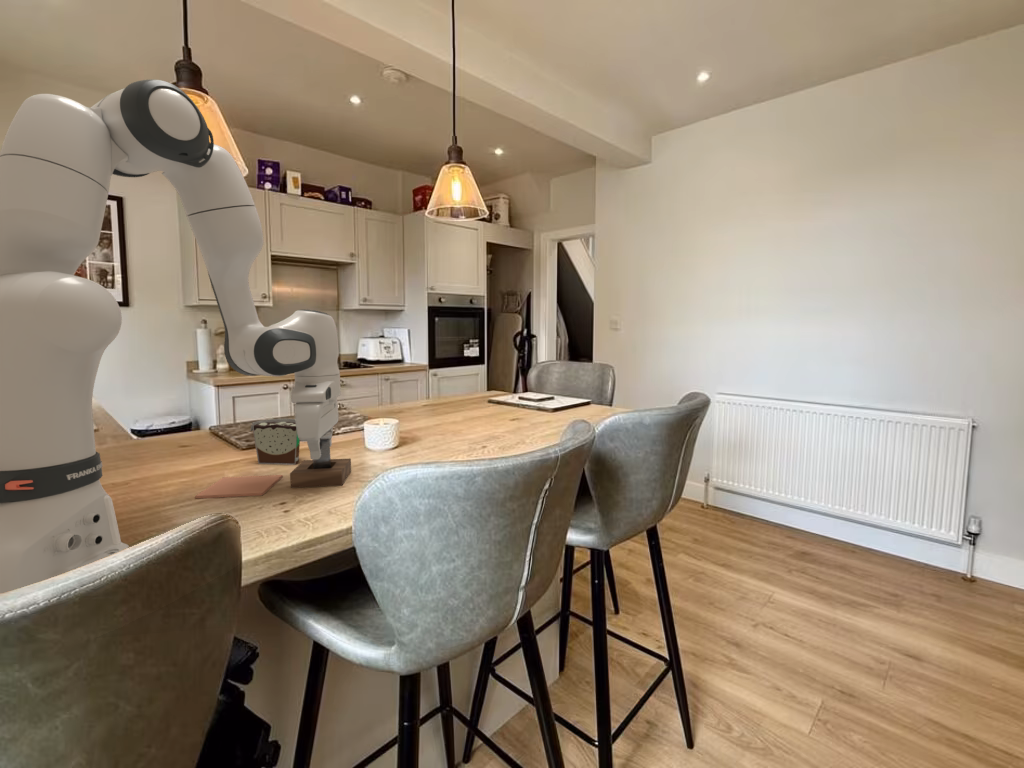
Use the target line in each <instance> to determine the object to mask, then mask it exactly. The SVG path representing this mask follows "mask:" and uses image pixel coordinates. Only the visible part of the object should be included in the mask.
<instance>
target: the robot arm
mask: <svg viewBox="0 0 1024 768" xmlns="http://www.w3.org/2000/svg"><path fill="white" fill-rule="evenodd" d="M156 172H161V175H162V176H164V177H165V178H166V179H167V180H168V181H169V183H171V185H172V186H173V188H174V189H175V190H176V192H177V193H178V196H179V198H180V201H181V205H182V208H183V210H184V213H185V215H186V217H187V221H188V224H189V226H190V228H191V231H192V233H193V236H194V238H195V240H196V245H197V246H198V248H199V251H200V253H201V256H202V259H203V262H204V266H205V267H206V271H207V274H208V277H209V282H210V285H211V288H212V292H213V294H214V298H215V300H216V304H217V307H218V310H219V314H220V316H221V320H222V324H223V327H224V328H223V329H224V342H223V344H224V345H223V347H224V348H223V351H224V357H225V359H226V362H227V363H228V365H229V366H230V367H231V368H232V369H233V370H234V371H235V372H237V373H240V374H242V375H243V376H251V377H255V376H265V377H285V376H287V375H291V374H294V384H293V385H294V386H293V388H292V390H291V392H290V401H291V403H292V404H294V419H295V422H296V429H297V435H298V438H299V440H300V442H302V443H303V442H304V443H305V442H307V447H308V450H309V455H310V456H309V457H310V460H316V459H319V458H320V457H321V449H320V444H319V443H320V438H321V437H322V436H323V435H324V434H325V433H326V432H328V431H329V432H332V433H333V432H334V431H333V430H334V428H333V427H335V425H337V423H338V422H339V405H338V397H340V396H341V395H342V390H341V389H342V387H341V386H342V385H341V372H340V368H339V365H338V360H339V359H338V358H339V355H340V350H339V336H338V329H337V326H336V325H337V324H336V322H335V320H334V318H333V316H332V315H330V314H329V313H327V312H323V311H319V310H315V309H313V310H312V309H298V310H295V311H294V312H293V314H291V315H290V316H288V317H285V319H282V320H281V321H279V322H277V323H272V324H271V325H270V324H269V326H265V325H264V324H263V323H262V322H261V320H260V318H259V316H258V313H257V309H256V305H255V302H254V298H253V295H252V291H251V287H250V284H249V276H250V271H251V268H252V267H253V264H254V262H255V261H256V259H257V257H259V255H260V253H261V251H262V250H263V247H264V243H265V242H264V233H263V227H262V222H261V219H260V215H259V212H258V209H257V207H256V203H255V201H254V198H253V196H252V193H251V190H250V189H249V186H248V184H247V181H246V179H245V178H244V175H243V173H242V171H241V169H240V168H239V166H238V164H237V162H236V160H235V159H234V157H233V155H232V154H231V153H230V152H229V151H228V150H227V149H226V148H224V147H222V146H220V145H218V144H215V143H214V136H213V132H212V131H211V130H210V128H209V127H208V125H207V122H206V120H205V117H204V116H203V114H202V112H201V110H200V109H199V107H198V106H197V105H196V103H195V102H194V101H193V100H192V99H191V97H190V96H188V94H187V93H186V92H184V91H183V90H182V89H181V88H180V87H178V86H176V85H175V84H173V83H170V82H168V81H165V80H161V79H143V80H137V81H133V82H131V83H129V84H128V85H127V86H126V87H124V88H122V89H119V90H117V91H114V92H112V93H109V94H107V95H106V96H104V97H103V98H102V99H100V100H99V101H97V102H96V103H95V104H93V105H92V106H91V107H88V106H86V105H84V104H82V103H80V102H78V101H77V100H73V99H71V98H69V97H65V96H63V95H57V94H52V93H37V94H34V95H30V96H29V97H27V98H26V99H25V100H23V102H22V103H21V105H20V106H19V108H18V110H16V113H15V115H14V117H13V118H12V120H11V122H10V124H9V127H8V128H7V131H6V134H5V136H4V139H3V142H2V145H1V149H0V593H3V592H7V591H10V590H14V589H17V588H21V587H24V586H27V585H30V584H33V583H36V582H39V581H42V580H45V579H48V578H51V577H54V576H57V575H59V574H62V573H65V572H67V571H70V570H72V569H76V568H78V567H81V566H84V565H86V564H89V563H92V562H94V561H96V560H99V559H101V558H104V557H106V556H109V555H112V554H114V553H117V552H119V551H121V550H123V549H125V548H128V547H129V548H130V546H129V544H127V543H125V542H122V541H121V535H120V530H119V526H118V525H119V524H118V521H117V520H118V519H117V517H116V512H115V507H114V502H113V499H112V497H111V496H110V494H109V493H107V491H106V490H105V489H104V488H103V486H102V483H101V478H102V477H103V461H102V460H101V455H100V452H98V451H96V441H95V428H94V416H93V415H94V414H93V397H94V396H93V393H94V388H95V383H96V377H97V374H98V370H99V366H100V362H101V360H102V357H103V355H104V353H105V351H106V350H107V348H108V347H109V345H111V344H112V343H113V341H114V340H115V339H116V338H117V336H118V334H119V333H120V330H121V326H122V323H123V322H122V321H123V319H122V311H121V308H120V305H119V303H118V301H117V300H116V298H115V297H114V295H113V294H112V293H111V292H110V291H109V290H108V289H107V288H106V287H105V286H103V285H101V284H100V283H98V282H96V281H93V280H91V279H89V278H86V277H81V276H78V275H75V273H76V272H77V270H78V269H79V268H80V266H81V265H82V263H83V262H84V261H85V260H86V259H87V258H88V257H89V256H90V255H91V254H93V253H94V251H95V250H96V248H97V247H98V245H99V243H100V238H101V232H102V229H103V222H104V217H105V211H106V208H107V207H106V206H107V202H108V197H109V191H110V185H111V177H112V175H113V176H117V177H118V176H119V177H124V178H140V177H146V176H148V175H150V174H153V173H156ZM332 440H333V439H332V438H330V448H331V447H332V445H333V443H332Z"/></svg>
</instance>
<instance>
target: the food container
mask: <svg viewBox="0 0 1024 768" xmlns="http://www.w3.org/2000/svg"><path fill="white" fill-rule="evenodd" d="M250 432H252V434H253V439H254V445H255V450H256V456H257V462H258V463H257V464H259V465H287V466H289V465H290V466H291V465H292V466H295V465H297V464H298V465H299V463H300V462H299V461H300V442H301V441H300V440H299V438H298V435H297V429H296V422H295V418H274V419H265V420H258V421H253V422H251V425H250Z"/></svg>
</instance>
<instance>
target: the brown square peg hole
mask: <svg viewBox="0 0 1024 768" xmlns="http://www.w3.org/2000/svg"><path fill="white" fill-rule="evenodd" d="M330 459H331V458H330ZM351 473H352V459H351V458H333V459H331V468H326V469H313V460H312V459H305V460H303V461H301V463H298V465H297V466H296V467H295V468H294V469H293V470H292V471H291V472H290V473H289V476H290V478H289V479H290V489H291V488H292V489H294V488H296V489H297V488H312V487H313V488H314V487H316V488H317V487H335V486H336V487H337V486H343V485H344V483H345V482H346V480H347V479H348V477H349V476H350V474H351Z"/></svg>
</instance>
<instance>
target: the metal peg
mask: <svg viewBox="0 0 1024 768" xmlns="http://www.w3.org/2000/svg"><path fill="white" fill-rule="evenodd" d="M332 437H333V432H329V431H328V432H326V433H325V434H324V435H323V436H322V437H321V438H320V443H319V444H320V449H321V457H320V458H319V459H316V460H313V469H326V468H331V447H330V438H331V439H332Z"/></svg>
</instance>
